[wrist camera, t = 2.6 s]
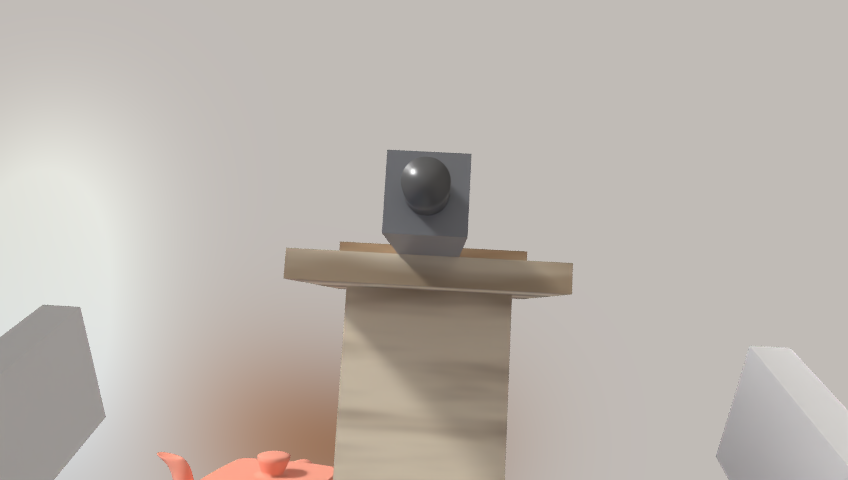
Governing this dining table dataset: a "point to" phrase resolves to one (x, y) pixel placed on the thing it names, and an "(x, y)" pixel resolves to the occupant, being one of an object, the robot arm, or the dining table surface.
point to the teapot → (254, 468)
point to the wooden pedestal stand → (425, 356)
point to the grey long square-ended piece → (426, 202)
